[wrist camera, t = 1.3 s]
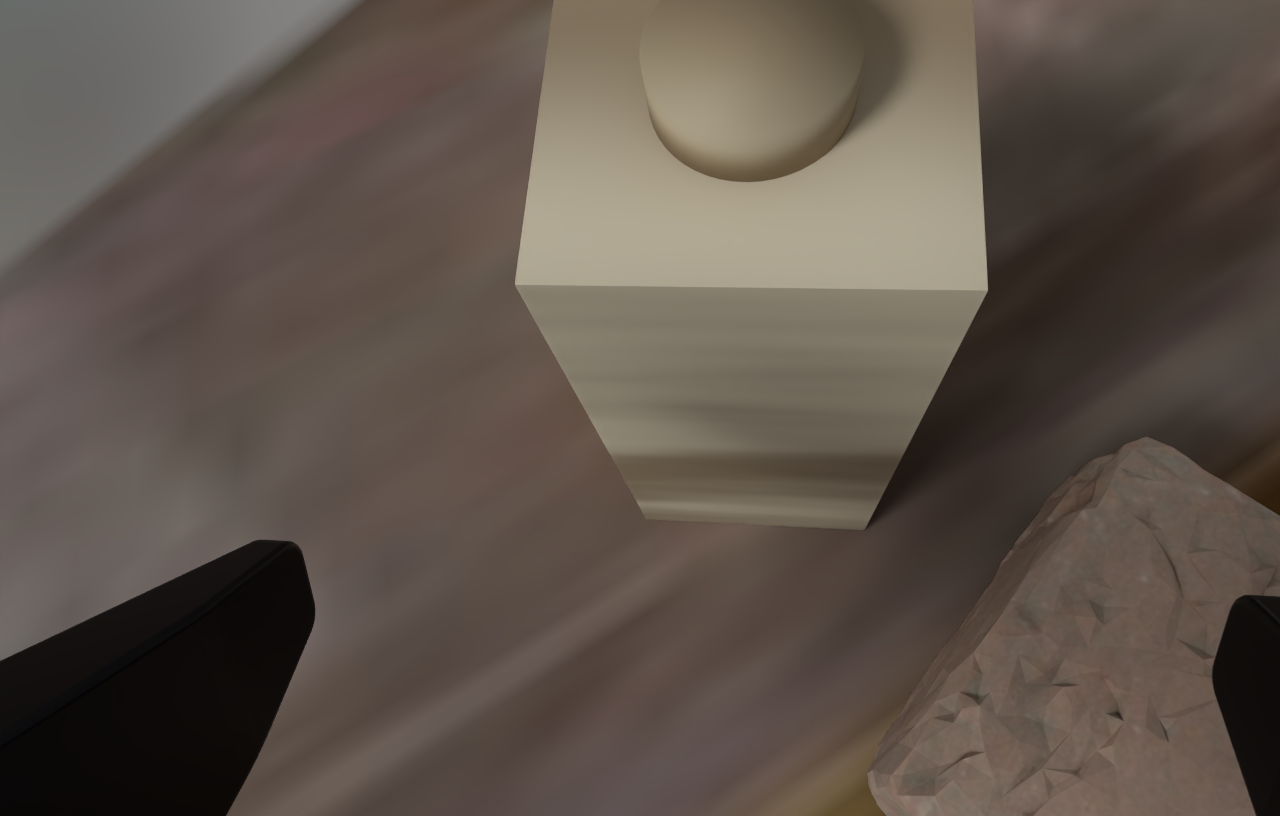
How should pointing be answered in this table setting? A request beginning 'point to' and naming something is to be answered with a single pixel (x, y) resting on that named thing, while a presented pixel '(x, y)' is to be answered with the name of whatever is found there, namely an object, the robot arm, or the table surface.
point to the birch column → (756, 242)
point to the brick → (1092, 656)
